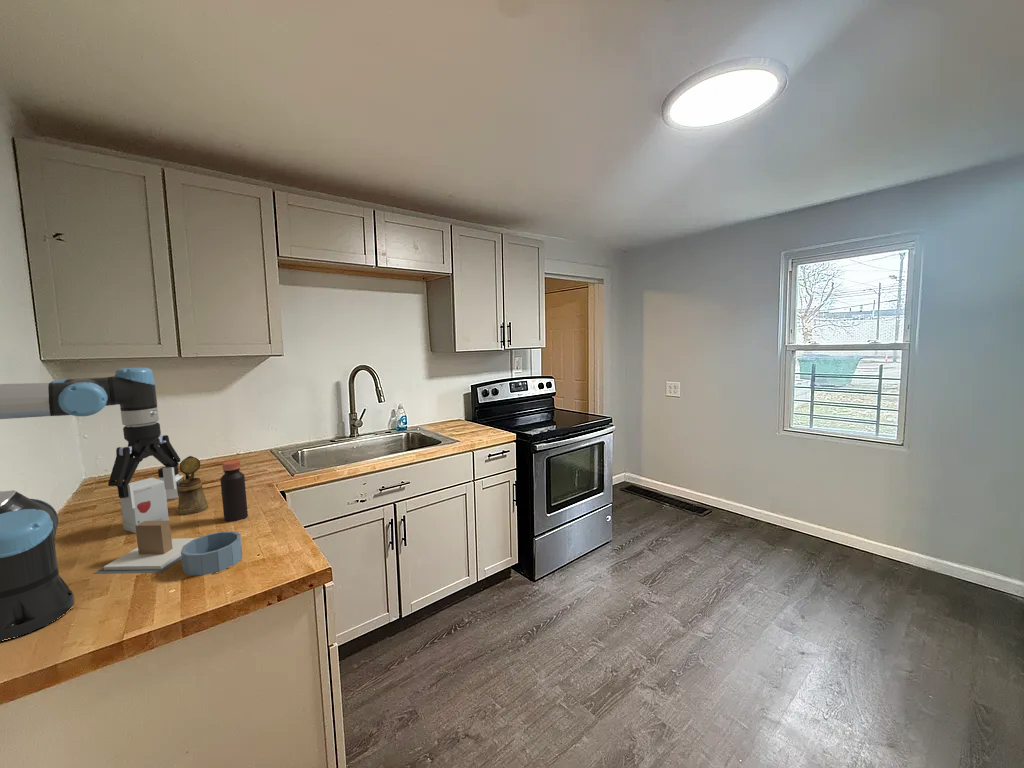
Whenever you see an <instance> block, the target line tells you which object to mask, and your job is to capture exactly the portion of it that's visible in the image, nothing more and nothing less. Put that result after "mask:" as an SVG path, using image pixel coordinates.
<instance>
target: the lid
mask: <svg viewBox="0 0 1024 768" xmlns="http://www.w3.org/2000/svg"><path fill="white" fill-rule="evenodd" d="M135 527H136V533H135V534H136V535H135V536H136V542H137V546H136V548H134V549H132V550H130V551H129V552H127V553H125V554H123V555H121V556H120V557H118V558H116V559H115V560H112V561H111V562H109V563H107V564H106V565H104V566H103V567H104V570H150V569H162V568H164V567H165V566H167V565H168V564H170V563H171V562H173V561H174V560H175V559H177V558H178V557H180V556H181V550H182V547H183V546H184V545H186V544H187V543H189V542H190V541H192V540H194V539H196V538H197V537H194V538H191V537H190V538H189V537H188V538H187V537H185V538H182V537H181V538H180V537H179V538H173V537H172V531H171V530H172V529H171V521H170V520H169V521H144V522H142V523H140V524H138V525H136V526H135Z"/></svg>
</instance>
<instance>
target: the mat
mask: <svg viewBox="0 0 1024 768" xmlns="http://www.w3.org/2000/svg"><path fill="white" fill-rule="evenodd" d="M179 561H182V559H181V556H180V557H178V558H177V559H175V560H174V561H173V562H171V563H170V564H168V565H167V566H165V567H164V568H162V569H150V570H104V566H103V567H101V568H100V569H99V570H96V571H95V572H93V573H92V574H94V575H97V574H98V575H99V574H102V575H103V574H107V575H108V574H110V575H111V574H154V573H155V574H156V573H158V574H161V573H164V572H166V570H168V569H169V568H171V567H172V566H174V565H175V564H176V563H178V562H179Z"/></svg>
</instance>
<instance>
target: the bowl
mask: <svg viewBox="0 0 1024 768" xmlns="http://www.w3.org/2000/svg"><path fill="white" fill-rule="evenodd" d="M195 538H196V539H194V540H192V541H190V542H189V543H187V544H186V545H184V546H183V547H182V550H181V565H182V566H181V567H182V572H183V573H185V574H186V575H188V576H204V575H210V574H212V573H216V572H220V571H222V570H224V569H226V568H229V567H230V566H233V565H234V566H236V565H237V564H238V563H239V562H240V561H241V560H242V559H243V547H242V546H243V545H242V534H241V533H239V532H237V531H235V530H233V531H232V530H230V531H229V530H226V531H225V530H224V531H221V530H220V531H218V532H212V533H207V534H205V535H201V536H199V537H195ZM239 560H240V561H239ZM238 561H239V562H238ZM237 562H238V563H237ZM236 563H237V564H236ZM235 564H236V565H235ZM234 566H233V567H234ZM229 569H230V568H229ZM226 570H227V569H226ZM224 571H225V570H224ZM222 572H223V571H222ZM220 573H221V572H220ZM216 574H217V573H216Z"/></svg>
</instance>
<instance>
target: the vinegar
mask: <svg viewBox="0 0 1024 768" xmlns="http://www.w3.org/2000/svg"><path fill="white" fill-rule="evenodd" d="M222 470H223V471H222V472H224V474H223V475H222V476H220V488H221V498H222V499H221V500H222V501H221V502H222V509H223V510H222V511H223V521H224V522H227V523H234V522H238V521H241V520H245V519H247V518H248V514H249V513H248V502H247V491H246V479H245V477H246V476H245V473H243V472H241V461H240V460H237V459H234V460H233V459H232V460H226V461H224V462H222Z"/></svg>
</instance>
